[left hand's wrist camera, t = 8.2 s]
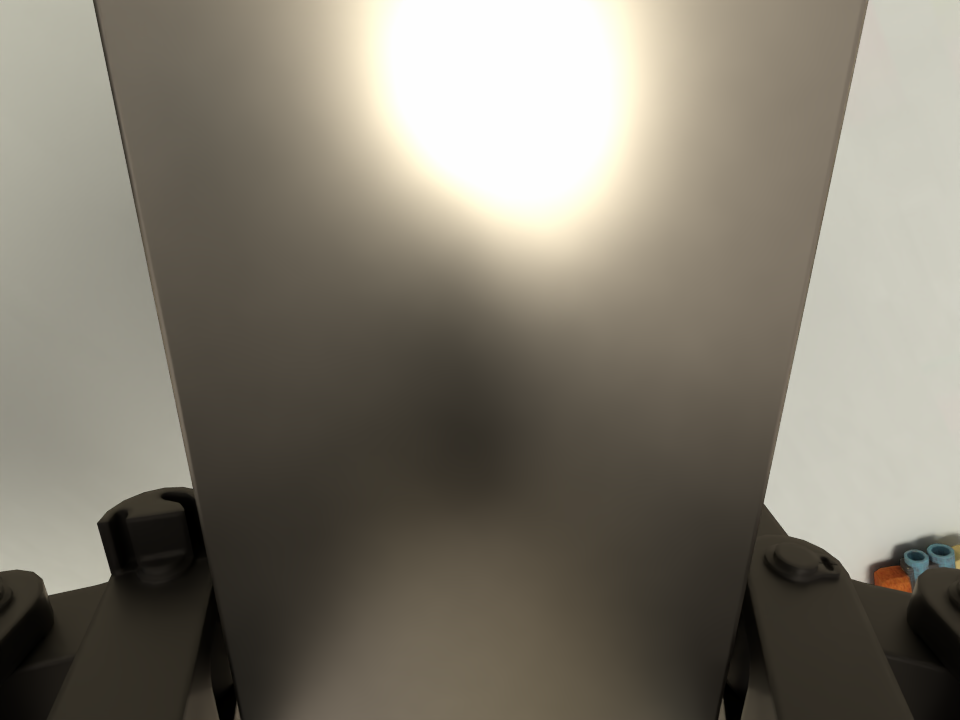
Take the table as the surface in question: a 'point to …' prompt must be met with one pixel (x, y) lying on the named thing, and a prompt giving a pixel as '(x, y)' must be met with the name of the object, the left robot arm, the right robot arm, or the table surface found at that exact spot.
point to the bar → (480, 331)
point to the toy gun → (917, 566)
